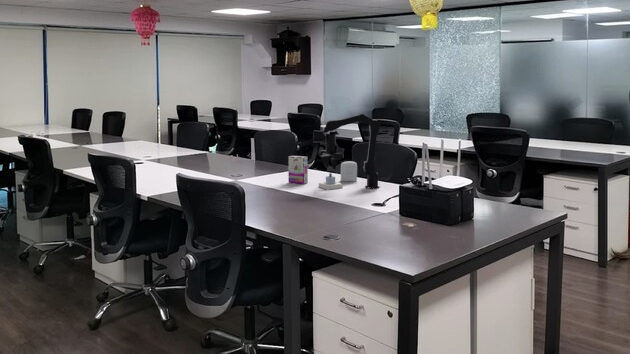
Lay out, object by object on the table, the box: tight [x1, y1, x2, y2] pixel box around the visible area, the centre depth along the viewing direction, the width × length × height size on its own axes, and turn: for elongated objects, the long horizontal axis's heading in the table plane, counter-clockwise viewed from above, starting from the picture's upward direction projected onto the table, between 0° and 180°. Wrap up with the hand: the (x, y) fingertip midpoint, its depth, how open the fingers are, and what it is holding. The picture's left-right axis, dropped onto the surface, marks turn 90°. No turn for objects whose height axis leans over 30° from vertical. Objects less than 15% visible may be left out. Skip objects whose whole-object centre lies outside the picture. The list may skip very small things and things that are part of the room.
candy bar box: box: [287, 155, 309, 185], centre depth 356 cm, size 11×5×16 cm, turn 62°
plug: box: [325, 172, 336, 185], centre depth 343 cm, size 4×4×8 cm
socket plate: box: [318, 181, 343, 191], centre depth 344 cm, size 10×10×3 cm
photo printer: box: [340, 160, 358, 182], centre depth 363 cm, size 10×4×12 cm, turn 98°
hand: (330, 168), depth 342 cm, fingers open, 7 cm apart
